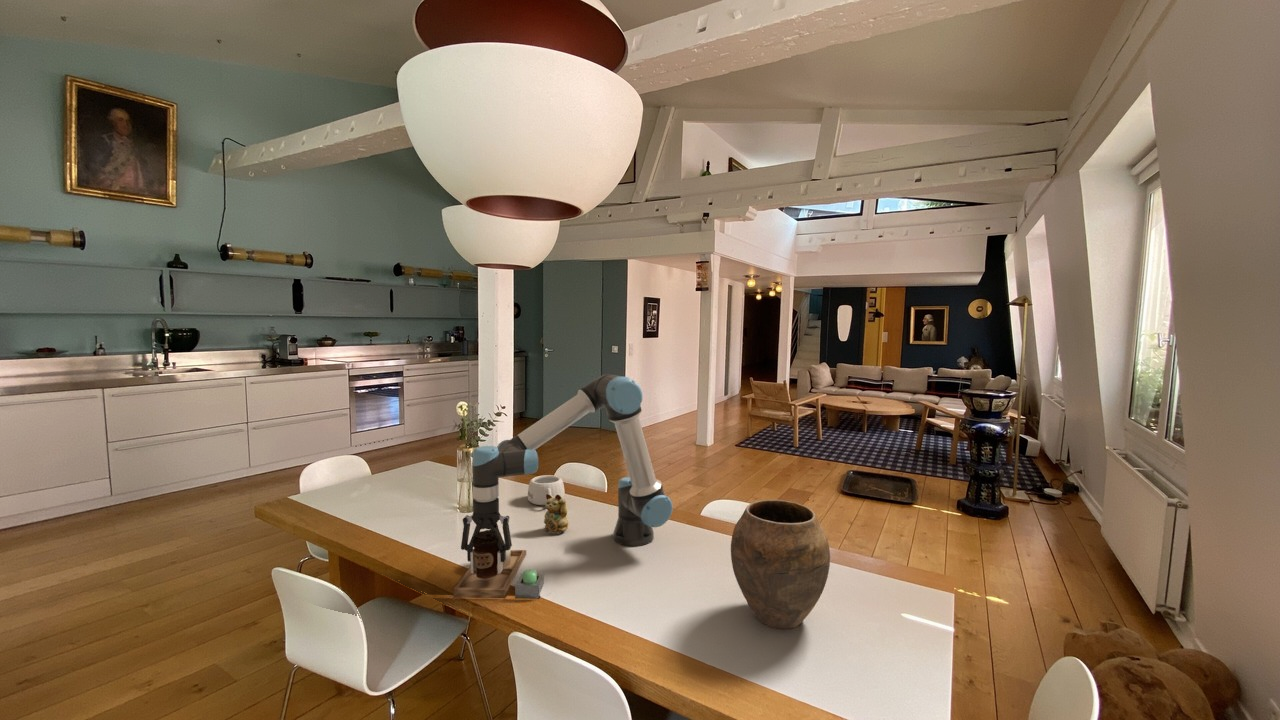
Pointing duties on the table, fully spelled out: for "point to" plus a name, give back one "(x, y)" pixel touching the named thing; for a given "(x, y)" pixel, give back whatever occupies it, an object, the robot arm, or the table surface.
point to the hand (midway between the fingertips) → (486, 571)
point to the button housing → (529, 588)
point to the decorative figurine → (555, 514)
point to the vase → (780, 561)
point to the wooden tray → (490, 580)
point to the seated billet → (508, 554)
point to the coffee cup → (486, 554)
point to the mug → (544, 488)
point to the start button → (529, 576)
